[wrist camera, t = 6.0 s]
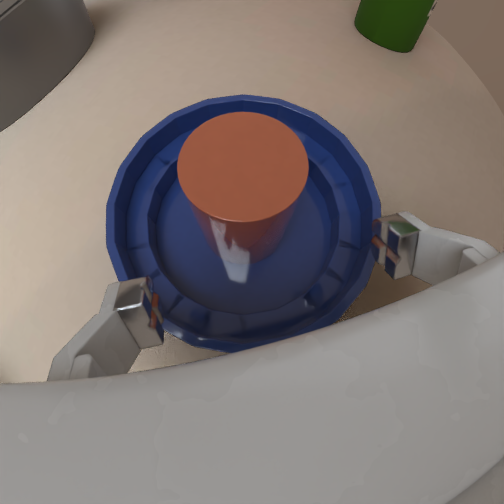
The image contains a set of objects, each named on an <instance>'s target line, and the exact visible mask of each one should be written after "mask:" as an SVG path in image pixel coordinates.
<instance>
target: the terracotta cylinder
mask: <svg viewBox="0 0 504 504" xmlns="http://www.w3.org/2000/svg"><path fill="white" fill-rule="evenodd" d="M308 171H309V162H308V157H307V153H306V150H305V148H304V146H303V144H302V142H301V140H300V139H299V138H298V136H297V135H296V134H295V133H294V132H293V131H292V130H291V129H290V128H289V127H288V126H286V125H285V124H283V123H282V122H280V121H278V120H276V119H274V118H272V117H270V116H267V115H263V114H259V113H253V112H233V113H227V114H223V115H220V116H217V117H214V118H212V119H210V120H208V121H206V122H205V123H203V124H202V125H200V126H199V127H198V128H196V129H195V130H194V131H193V132H192V133H191V134H190V135H189V137H188V138H187V139H186V141H185V142H184V144H183V146H182V148H181V151H180V153H179V157H178V162H177V174H178V179H179V183H180V186H181V188H182V190H183V192H184V195H185V197H186V199H187V201H188V204H189V206H190V208H191V210H192V213H193V215H194V217H195V219H196V222H197V224H198V226H199V228H200V230H201V233H202V235H203V237H204V239H205V241H206V243H207V245H208V247H209V248H210V249H211V250H212V251H213V253H215V254H216V255H217V256H218V257H220V258H221V259H223V260H225V261H228V262H231V263H235V264H252V263H256V262H259V261H261V260H263V259H265V258H267V257H268V256H270V255H271V254H272V253H273V252H274V251H275V250H276V249H277V248H278V246H279V244H280V243H281V241H282V238H283V236H284V234H285V232H286V229H287V227H288V225H289V222H290V220H291V218H292V215H293V213H294V211H295V208H296V206H297V203H298V201H299V199H300V196H301V194H302V192H303V189H304V187H305V184H306V181H307V178H308Z"/></svg>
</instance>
